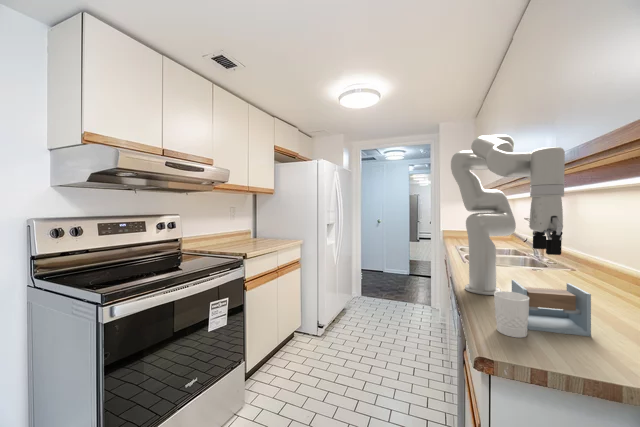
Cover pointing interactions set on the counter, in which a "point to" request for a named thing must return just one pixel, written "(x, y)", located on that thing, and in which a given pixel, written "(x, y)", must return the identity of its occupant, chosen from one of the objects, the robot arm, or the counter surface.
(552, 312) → the shelf unit
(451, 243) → the counter surface
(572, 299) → the brown box
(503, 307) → the white cup
